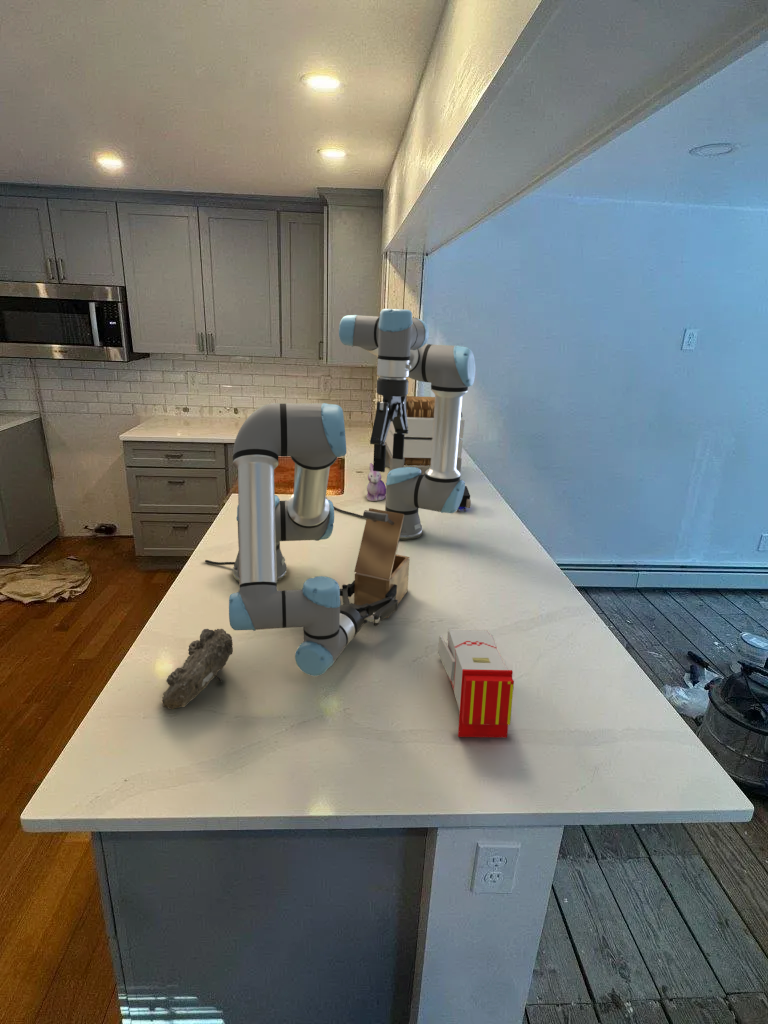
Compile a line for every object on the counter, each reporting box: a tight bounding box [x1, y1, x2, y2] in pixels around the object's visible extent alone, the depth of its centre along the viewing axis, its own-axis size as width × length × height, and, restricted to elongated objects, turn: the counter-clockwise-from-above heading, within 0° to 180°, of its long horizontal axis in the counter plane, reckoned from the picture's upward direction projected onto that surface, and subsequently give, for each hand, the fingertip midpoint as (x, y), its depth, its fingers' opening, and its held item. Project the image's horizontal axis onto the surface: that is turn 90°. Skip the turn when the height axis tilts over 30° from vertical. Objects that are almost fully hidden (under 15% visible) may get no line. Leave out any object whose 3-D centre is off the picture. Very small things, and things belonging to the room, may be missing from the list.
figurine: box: [365, 462, 386, 502], centre depth 233 cm, size 9×10×15 cm
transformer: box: [384, 394, 465, 475], centre depth 268 cm, size 34×33×41 cm
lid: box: [354, 508, 404, 579], centre depth 141 cm, size 17×10×9 cm
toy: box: [437, 628, 515, 738], centre depth 117 cm, size 12×13×30 cm
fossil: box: [161, 628, 234, 710], centre depth 117 cm, size 22×10×15 cm
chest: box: [353, 553, 411, 619], centre depth 152 cm, size 16×10×11 cm, turn 159°
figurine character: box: [456, 485, 472, 513], centre depth 228 cm, size 7×8×15 cm
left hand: (377, 585), depth 148 cm, fingers closed on chest, 9 cm apart
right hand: (388, 464), depth 141 cm, fingers open, 13 cm apart
